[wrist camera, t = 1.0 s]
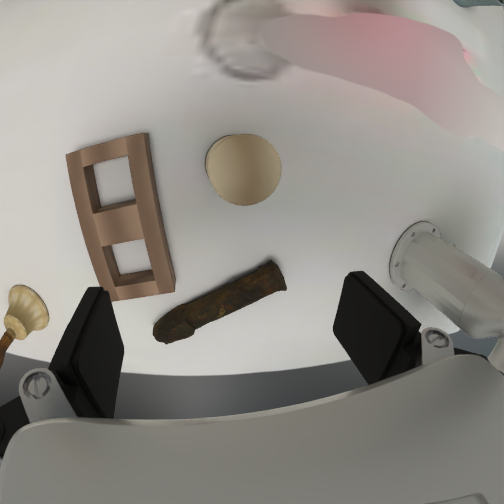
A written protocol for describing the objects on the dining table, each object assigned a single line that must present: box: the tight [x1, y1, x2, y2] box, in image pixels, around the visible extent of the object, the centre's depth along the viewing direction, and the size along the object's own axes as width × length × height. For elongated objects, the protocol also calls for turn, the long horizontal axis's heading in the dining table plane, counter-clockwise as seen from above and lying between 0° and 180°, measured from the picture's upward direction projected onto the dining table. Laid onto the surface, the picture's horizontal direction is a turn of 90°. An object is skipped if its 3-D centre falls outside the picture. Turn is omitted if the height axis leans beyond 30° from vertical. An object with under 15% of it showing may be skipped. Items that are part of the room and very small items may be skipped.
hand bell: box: [0, 285, 49, 368], centre depth 23 cm, size 8×8×16 cm
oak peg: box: [205, 134, 281, 206], centre depth 24 cm, size 6×6×10 cm
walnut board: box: [66, 133, 176, 302], centre depth 27 cm, size 9×18×3 cm, turn 5°
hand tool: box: [153, 260, 287, 344], centre depth 34 cm, size 19×4×5 cm, turn 111°
